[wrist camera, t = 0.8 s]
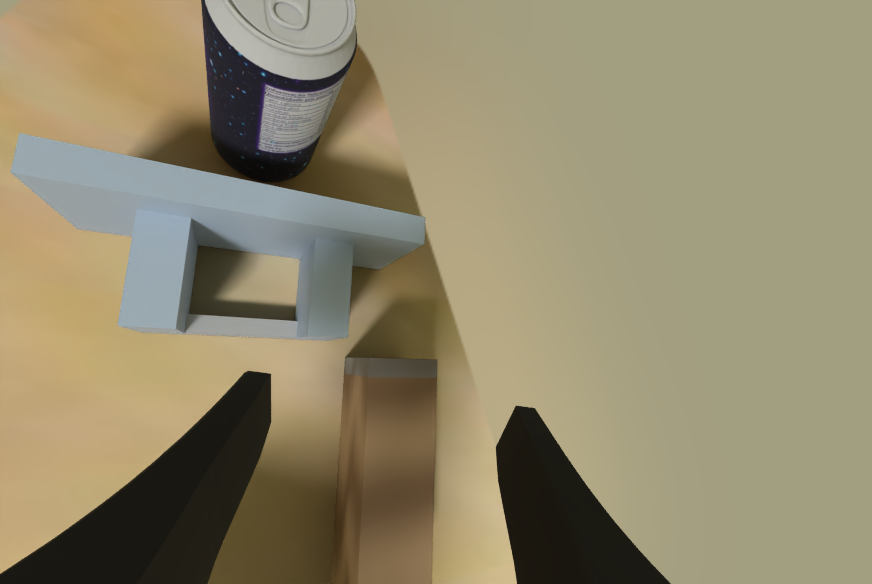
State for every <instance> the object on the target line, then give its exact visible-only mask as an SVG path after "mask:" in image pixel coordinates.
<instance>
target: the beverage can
mask: <svg viewBox="0 0 872 584" xmlns="http://www.w3.org/2000/svg"><path fill="white" fill-rule="evenodd" d="M201 3H202V16H203V30H204V43H205V57H206V70H207V83H208V97H209V110H210V124H211V135H212V139H213V142H214V145H215V147H216V149H217V151H218V152H219V154H220V155H221V157H222V158H223V159H224V160H225V161H226V163H227V164H229V165H230V166H231V167H232V168H233V169H235V170H236V171H238V172H239V173H241V174H243V175H245V176H247V177H249V178H252V179H255V180H259V181H264V182H281V181H285V180H289V179H291V178H293V177H295V176H297V175H298V174H300V173H301V172H302V171H303V170H304V169H305V168H306V167H307V165H308V164H309V162H310V160H311V157H312V155H313V153H314V150H315V148H316V146H317V143H318V141H319V138H320V136H321V134H322V131H323V129H324V127H325V124H326V122H327V120H328V117H329V115H330V112H331V110H332V108H333V105H334V103H335V101H336V98H337V96H338V93H339V91H340V89H341V86H342V84H343V82H344V79H345V77H346V74H347V72H348V70H349V67H350V65H351V63H352V60H353V58H354V55H355V52H356V46H357V33H356V26H355V22H356V5H355V0H201Z"/></svg>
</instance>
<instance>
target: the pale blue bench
mask: <svg viewBox="0 0 872 584" xmlns="http://www.w3.org/2000/svg"><path fill="white" fill-rule="evenodd" d="M11 173H12V174H13V175H14V176H15V177H16V178H18V179H19V180H20V181H21V182H22V183H24V184H25V185H26V186H27V187H28V188H29V189H31V190H32V191H33V192H34V193H35V194H37V195H38V196H39V197H40V198H41V199H42V200H44V201H45V202H46V203H47V204H48V205H50V206H51V207H52V208H53V209H54V210H55V211H57V212H58V213H59V214H60V215H61V216H63V217H64V218H65V219H66V220H67V221H68V222H70V223H71V224H72V225H73V226H74V227H76V228H77V229H80V230H88V231H95V232H103V233H110V234H118V235H125V236H132V241H131V247H130V253H129V260H128V266H127V272H126V278H125V284H124V290H123V296H122V302H121V308H120V314H119V320H118V326H120V327H124V328H127V329H131V330H134V331H138V332H144V333H166V334H188V335H210V336H232V337H254V338H276V339H297V340H319V341H329V340H335V339H341V338H348V327H349V312H350V296H351V280H352V266H357V267H364V268H372V269H379V270H380V269H382V268H384V267H385V266H387V265H389V264H391V263H392V262H394V261H396V260H398V259H399V258H401V257H403V256H405V255H406V254H408V253H410V252H412V251H413V250H415V249H417V248H419V247H420V246H422V245H424V242H425V217H422V216H417V215H412V214H407V213H402V212H397V211H393V210H388V209H383V208H378V207H373V206H369V205H364V204H359V203H354V202H349V201H344V200H340V199H335V198H330V197H325V196H320V195H316V194H311V193H306V192H301V191H296V190H291V189H287V188H282V187H277V186H272V185H267V184H263V183H258V182H253V181H248V180H243V179H238V178H234V177H229V176H224V175H219V174H214V173H210V172H205V171H200V170H195V169H190V168H185V167H181V166H176V165H171V164H166V163H161V162H157V161H152V160H147V159H142V158H137V157H132V156H128V155H123V154H118V153H113V152H108V151H103V150H99V149H94V148H89V147H84V146H79V145H75V144H70V143H65V142H60V141H55V140H50V139H46V138H41V137H36V136H31V135H26V134H22V133H19V137H18V142H17V146H16V151H15V155H14V159H13V164H12V168H11ZM198 245H200V246H207V247H215V248H222V249H230V250H237V251H245V252H252V253H260V254H267V255H275V256H282V257H290V258H297V259H300V266H299V277H298V289H297V300H296V312H295V321H287V320H271V319H256V318H241V317H225V316H210V315H195V314H189V311H190V303H191V296H192V288H193V281H194V273H195V266H196V258H197V251H198Z"/></svg>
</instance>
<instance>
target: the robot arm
mask: <svg viewBox="0 0 872 584" xmlns="http://www.w3.org/2000/svg"><path fill="white" fill-rule="evenodd" d="M270 424H271V374H268V373H261V372H253V371H247V372H245V373H244V374H243V375H242V376H241V377H240V378H239V380H238V381H237V382H236V383H235V384H234V385H233V386H232V387H231V388H230V389H229V390H228V392H227V393H226V394H225V395H224V396H223V397H222V398H221V399H220V400H219V401H218V402H217V403H216V404H215V405H214V406H213V407H212V408H211V409H210V410H209V411H208V412H207V413H206V414H205V415H204V416H203V417H202V418H201V419H200V420H199V421H198V422H197V423H196V424H195V425H194V426H193V427H192V428H191V429H190V430H189V431H188V432H187V433H186V434H184V435H183V436H182V437H181V438H180V439H179V440H178V441H177V442H176V443H175V444H173V445H172V446H171V447H170V448H169V449H168V450H167V451H166V452H164V453H163V454H162V455H161V456H160V457H159V458H158V459H157V460H155V461H154V462H153V463H152V464H151V465H150V466H148V467H147V468H146V469H145V470H144V471H142V472H141V473H140V474H139V475H138V476H136V477H135V478H134V479H133V480H132V481H130V482H129V483H128V484H127V485H125V486H124V487H123V488H121V489H120V490H119V491H118V492H116V493H115V494H114V495H113V496H111V497H110V498H109V499H107V500H106V501H105V502H103V503H102V504H101V505H99V506H98V507H97V508H95V509H94V510H93V511H91V512H90V513H89V514H87V515H86V516H84V517H83V518H82V519H80V520H79V521H78V522H76V523H75V524H74V525H72V526H71V527H69V528H68V529H67V530H65V531H64V532H62V533H61V534H59V535H58V536H57V537H55V538H54V539H52V540H51V541H49V542H48V543H47V544H45V545H44V546H42V547H40V548H39V549H37V550H36V551H34V552H33V553H31V554H30V555H28V556H27V557H25V558H24V559H22V560H21V561H19V562H18V563H16V564H15V565H13V566H12V567H10V568H9V569H7V570H6V571H4V572H3V573H1V574H0V584H207V583H208V580H209V577H210V574H211V571H212V569H213V566H214V563H215V560H216V557H217V555H218V552H219V550H220V547H221V545H222V542H223V540H224V538H225V535H226V533H227V531H228V529H229V526H230V524H231V522H232V520H233V517H234V515H235V513H236V511H237V508H238V506H239V504H240V502H241V499H242V497H243V495H244V493H245V490H246V488H247V486H248V483H249V481H250V479H251V477H252V474H253V472H254V470H255V467H256V465H257V463H258V460H259V458H260V455H261V452H262V449H263V446H264V443H265V440H266V437H267V434H268V430H269V427H270ZM496 457H497V471H498V482H499V488H500V493H501V498H502V504H503V509H504V514H505V519H506V524H507V529H508V534H509V539H510V545H511V550H512V555H513V560H514V566H515V572H516V579H517V584H670V583H669V581H668V580H667V579H666V578H664V576H663V575H662V574H661V573H660V572H659V571H658V570H657V569H656V568H655V567H654V566H653V565H652V564H651V563H650V562H649V561H648V559H647V558H646V557H645V556H644V555H643V554H642V553H641V552H640V551H639V550H638V548H637V547H636V546H635V545H634V544H633V543H632V541H631V540H630V539H629V538H628V537H627V536H626V534H625V533H624V532H623V531H622V530H621V529H620V528H619V526H618V525H617V524H616V523H615V522H614V520H613V519H612V518H611V517H610V515H609V514H608V513H607V512H606V510H605V509H604V508H603V506H602V505H601V504H600V502H599V501H598V500H597V499H596V497H595V496H594V495H593V493H592V492H591V491H590V489H589V488H588V487H587V485H586V484H585V482H584V481H583V480H582V478H581V477H580V475H579V474H578V473H577V471H576V470H575V468H574V467H573V465H572V464H571V462H570V461H569V460H568V458H567V457H566V455H565V454H564V452H563V451H562V449H561V448H560V446H559V444H558V443H557V441H556V440H555V439H554V437H553V436H552V434H551V432H550V431H549V429H548V428H547V426H546V425H545V423H544V422H543V420H542V419H541V417H540V416H539V414H538V413H537V411H536V409H535V408H528V407H522V406H516V407H515V409H514V411H513V413H512V415H511V417H510V419H509V421H508V423H507V425H506V427H505V429H504V431H503V434H502V436H501V438H500V440H499V442H498V444H497V446H496Z"/></svg>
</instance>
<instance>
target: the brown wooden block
mask: <svg viewBox="0 0 872 584" xmlns="http://www.w3.org/2000/svg"><path fill="white" fill-rule="evenodd" d="M436 387H437V360H430V359H395V358H345V368H344V384H343V399H342V415H341V431H340V446H339V462H338V478H337V493H336V509H335V525H334V540H333V556H332V572H331V584H432V552H433V511H434V470H435V428H436Z"/></svg>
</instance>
